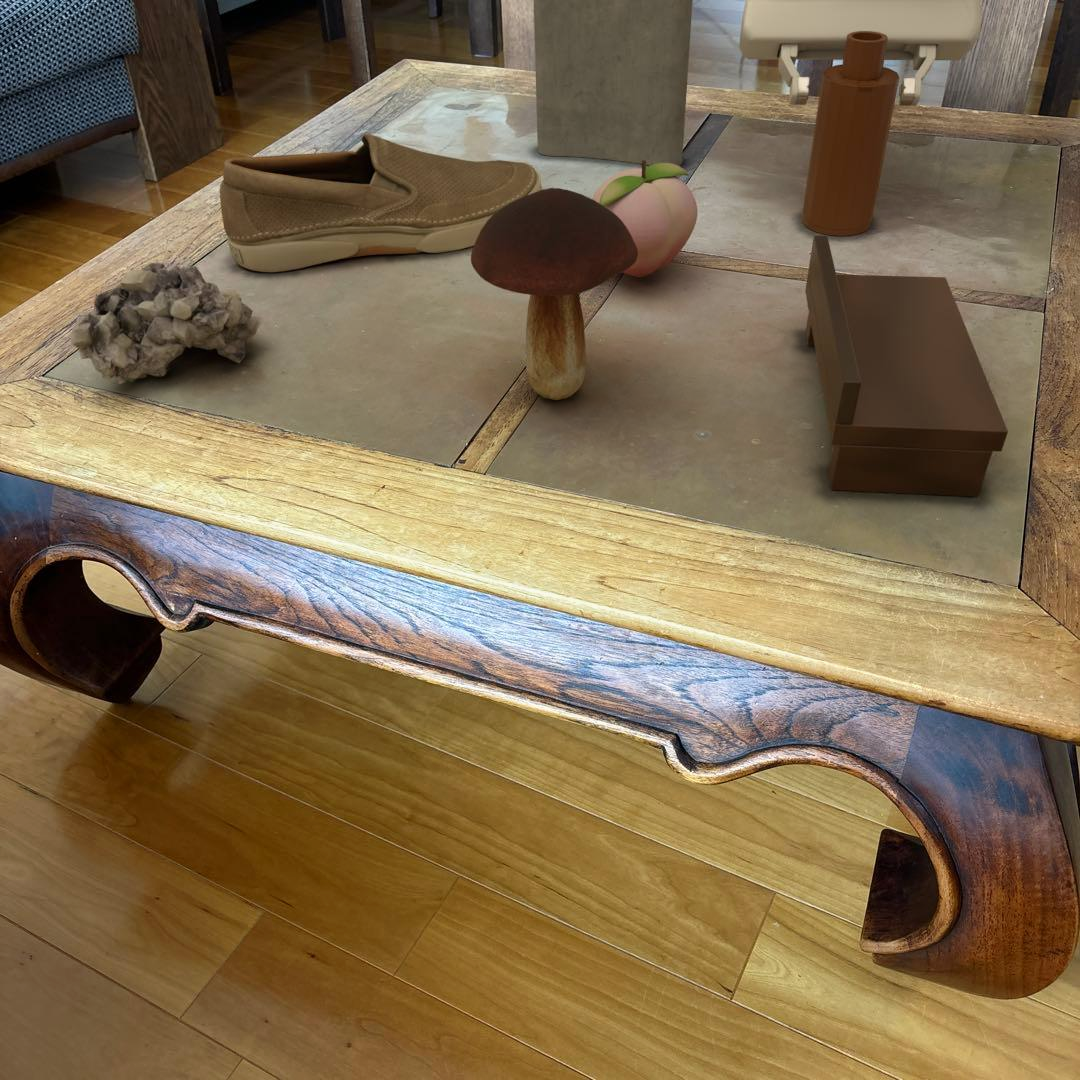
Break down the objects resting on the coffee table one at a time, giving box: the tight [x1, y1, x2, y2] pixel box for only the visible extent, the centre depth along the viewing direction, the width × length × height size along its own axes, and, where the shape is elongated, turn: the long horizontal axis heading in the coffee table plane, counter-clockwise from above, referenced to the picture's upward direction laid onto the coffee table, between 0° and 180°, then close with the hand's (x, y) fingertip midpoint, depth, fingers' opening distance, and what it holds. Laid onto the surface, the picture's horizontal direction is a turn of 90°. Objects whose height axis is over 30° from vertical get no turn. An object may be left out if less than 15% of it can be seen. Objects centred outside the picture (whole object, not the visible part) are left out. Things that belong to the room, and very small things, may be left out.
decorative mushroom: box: [470, 187, 638, 401], centre depth 69 cm, size 11×11×15 cm
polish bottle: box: [801, 31, 900, 237], centre depth 90 cm, size 6×6×16 cm
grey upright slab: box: [533, 0, 693, 167], centre depth 103 cm, size 16×4×20 cm, turn 70°
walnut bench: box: [804, 235, 1009, 498], centre depth 69 cm, size 10×20×8 cm, turn 174°
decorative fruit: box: [591, 160, 698, 278], centre depth 85 cm, size 9×8×10 cm
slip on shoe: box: [219, 133, 543, 273], centre depth 93 cm, size 30×11×9 cm, turn 106°
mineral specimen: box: [69, 261, 263, 385], centre depth 76 cm, size 12×9×10 cm
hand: (853, 102), depth 89 cm, fingers open, 8 cm apart
